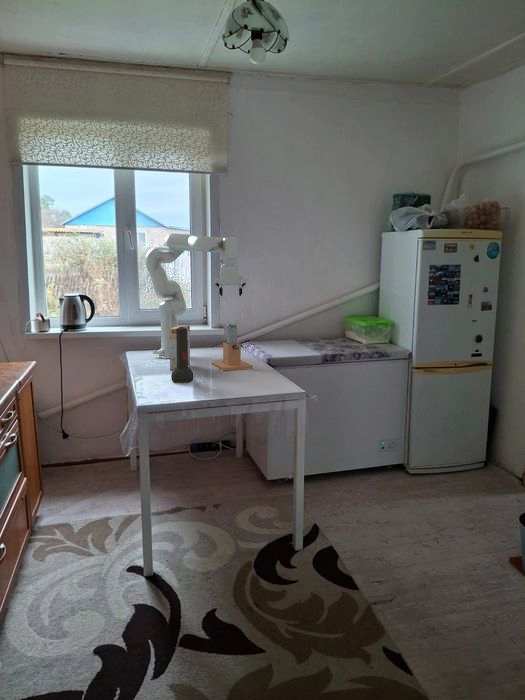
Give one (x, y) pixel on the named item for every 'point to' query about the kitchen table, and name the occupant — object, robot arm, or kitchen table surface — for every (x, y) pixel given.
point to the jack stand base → (231, 358)
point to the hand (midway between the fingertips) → (230, 295)
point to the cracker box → (173, 346)
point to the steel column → (231, 334)
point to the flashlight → (182, 358)
